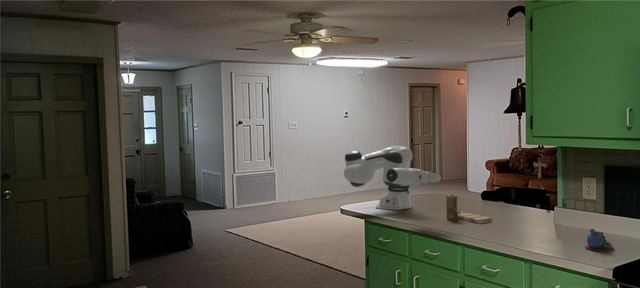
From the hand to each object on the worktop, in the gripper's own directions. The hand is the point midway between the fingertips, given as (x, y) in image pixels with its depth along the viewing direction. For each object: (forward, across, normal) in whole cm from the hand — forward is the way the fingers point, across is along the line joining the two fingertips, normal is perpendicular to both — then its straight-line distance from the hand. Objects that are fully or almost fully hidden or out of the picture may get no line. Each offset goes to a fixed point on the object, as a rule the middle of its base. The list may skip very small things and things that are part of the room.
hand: (434, 177), depth 287 cm
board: (+22, +5, -22) cm, 31 cm away
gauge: (+17, -1, -22) cm, 28 cm away
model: (+19, +82, -27) cm, 88 cm away
